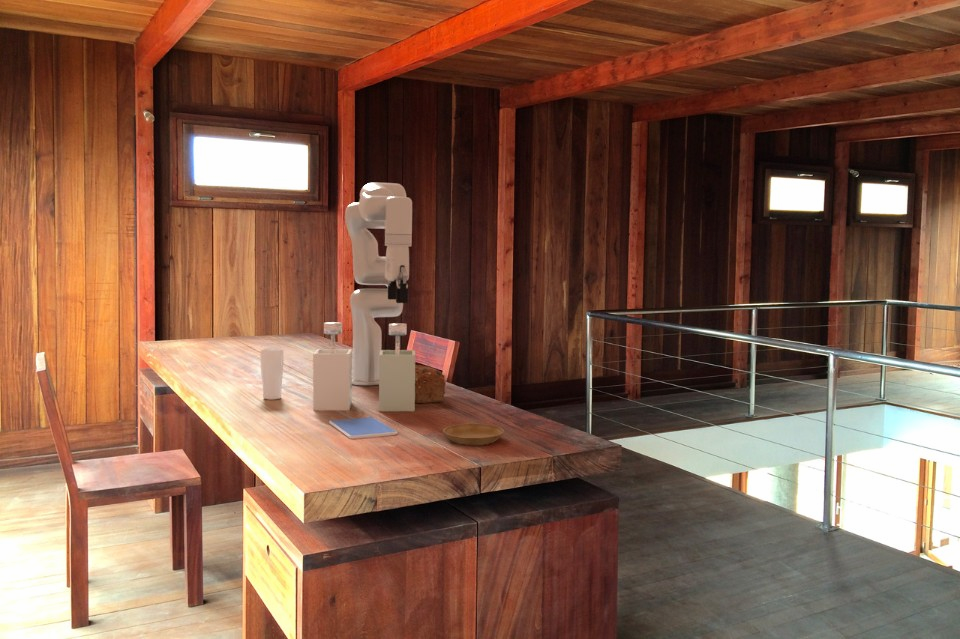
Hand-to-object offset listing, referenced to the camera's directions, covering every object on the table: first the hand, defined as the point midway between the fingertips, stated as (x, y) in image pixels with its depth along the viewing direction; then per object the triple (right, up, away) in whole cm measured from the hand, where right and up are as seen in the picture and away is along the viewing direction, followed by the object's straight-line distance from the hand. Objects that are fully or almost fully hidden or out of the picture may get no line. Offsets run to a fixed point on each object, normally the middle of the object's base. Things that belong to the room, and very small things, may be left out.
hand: (397, 301), depth 230 cm
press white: (-19, -30, +2) cm, 36 cm away
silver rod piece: (0, -27, +2) cm, 27 cm away
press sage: (0, -31, +2) cm, 31 cm away
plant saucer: (+22, -35, -33) cm, 53 cm away
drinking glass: (-39, -29, +12) cm, 50 cm away
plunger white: (-19, -27, +2) cm, 33 cm away
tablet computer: (-7, -34, -23) cm, 42 cm away
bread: (+5, -30, +18) cm, 35 cm away
